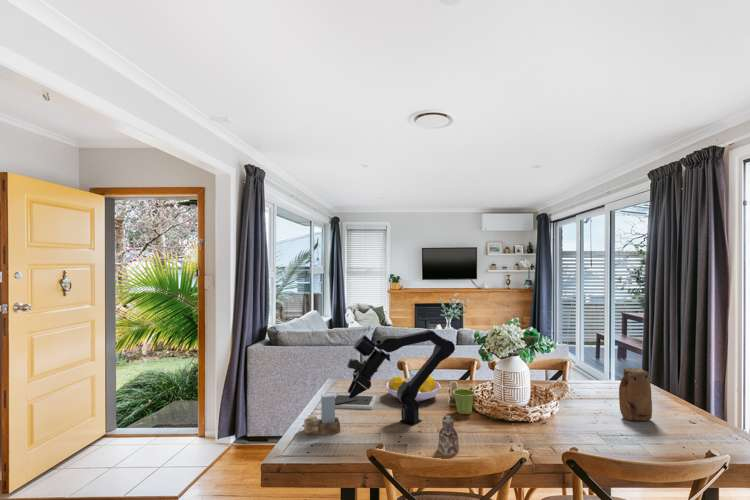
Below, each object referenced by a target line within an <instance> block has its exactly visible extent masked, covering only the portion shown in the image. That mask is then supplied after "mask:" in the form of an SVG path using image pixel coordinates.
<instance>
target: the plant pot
mask: <svg viewBox="0 0 750 500" xmlns="http://www.w3.org/2000/svg"><path fill="white" fill-rule="evenodd" d="M452 394H453V396H454V398H455V406H456V411H457V413H458V414H460V415H470V414H472V411H473V403H474V397H475V395H476V392H475V391H474V390H472V389H467V388H457V389H454V390H453V391H452Z"/></svg>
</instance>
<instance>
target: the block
mask: <svg viewBox="0 0 750 500" xmlns="http://www.w3.org/2000/svg"><path fill="white" fill-rule="evenodd" d="M651 385H652V384H651V380H650V373H649V372H648V371H645V370H644V369H642V368H638V367H637V368H632V367H627V368H624V369H623V376H621V380H620V383H619V385H618V398H619V399H618V400H619V410H620V414H621V416H622V418H623V419H625V420H627V421H638V422H639V421H640V422H641V421H643V422H646V421H650V420H651V419H652V418H653V417H652V416H653V400H652V386H651Z"/></svg>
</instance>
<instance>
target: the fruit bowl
mask: <svg viewBox="0 0 750 500" xmlns="http://www.w3.org/2000/svg"><path fill="white" fill-rule="evenodd" d="M412 378H413V377H406V378H405V377H404V378H403V377H402V376H401V375H398V376H395V377H393V378H391V379H390V380H389V381H388V382H386V389H387V391H388V392H389V394H391V395H392V396H393V397H395V398H396V399H398V397H397V391H398V387H400V386H401V384H402V383H403V381H405V382H406V383H407V382H409V381H411V380H412ZM441 388H442V387H441V385H440V383H439V382H438V381H436V380H435V379H434V377H433V376H432V375H430V376H429V377H428V378H427V379H426V380H425V382H424V383H423V384H422V385H421V387H420V388H419V391H418V394H417V396H416V398H415V399H416V401H417V402H418V403H420V402H423V401H427V400H429V399H432V398H435V396H436V395H437V394H438V392H439V391H440V390H441Z"/></svg>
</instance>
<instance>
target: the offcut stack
mask: <svg viewBox="0 0 750 500" xmlns="http://www.w3.org/2000/svg"><path fill="white" fill-rule="evenodd" d="M317 419H318V416H317V414H310V415H308V416H307V418H304V419H303V420H304V427H305V431H306V433H309V432H318V422H317ZM305 431H304V432H305Z"/></svg>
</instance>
